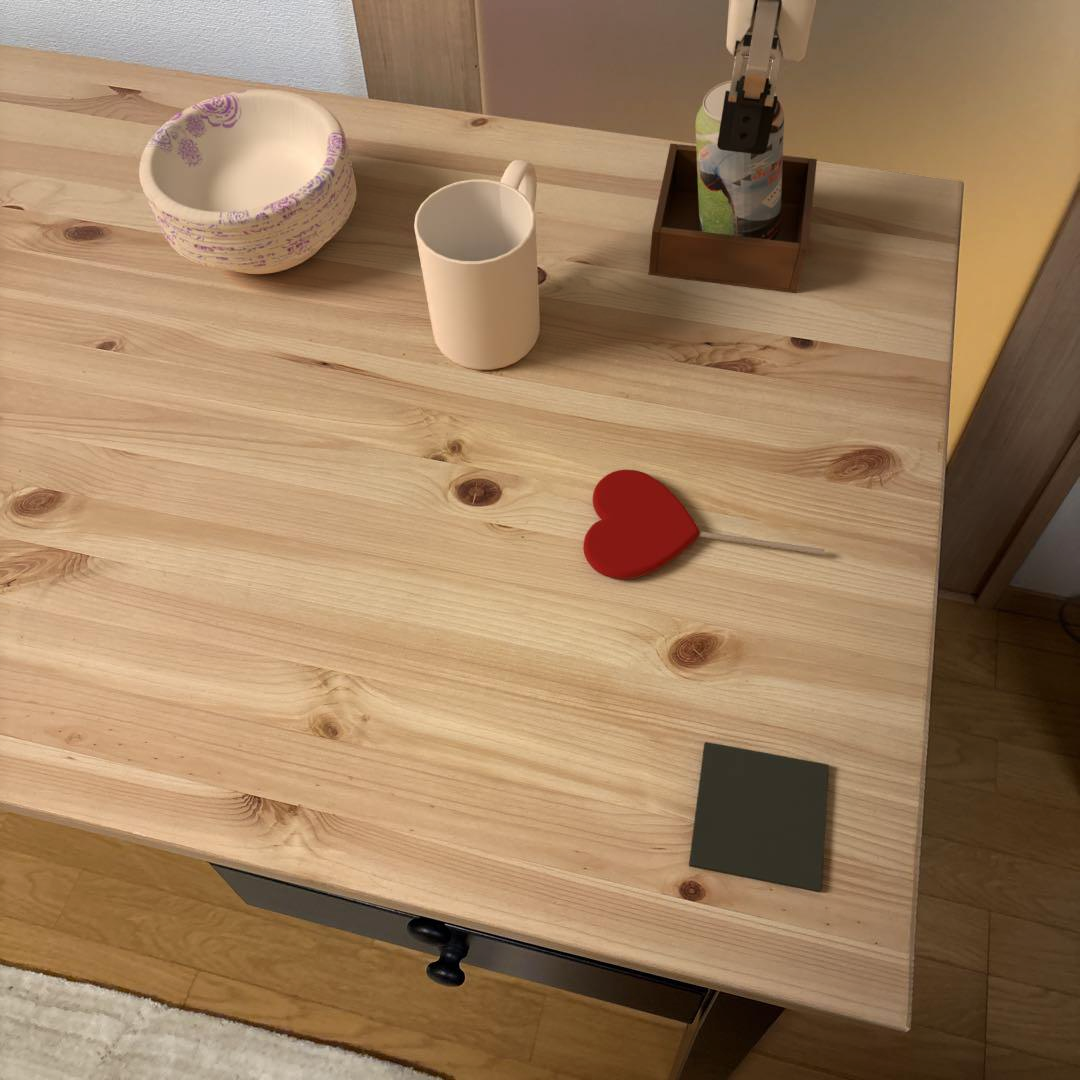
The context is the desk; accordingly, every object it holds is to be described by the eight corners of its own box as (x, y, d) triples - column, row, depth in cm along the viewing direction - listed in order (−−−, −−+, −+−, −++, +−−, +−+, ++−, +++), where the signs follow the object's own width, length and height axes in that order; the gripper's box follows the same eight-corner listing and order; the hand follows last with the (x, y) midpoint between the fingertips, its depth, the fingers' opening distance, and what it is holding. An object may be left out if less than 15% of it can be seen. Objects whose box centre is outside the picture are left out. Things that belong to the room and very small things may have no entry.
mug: (512, 385, 71) (503, 277, 62) (414, 352, 73) (392, 243, 64) (579, 271, 77) (580, 156, 68) (487, 243, 79) (475, 127, 70)
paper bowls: (234, 151, 85) (205, 66, 78) (396, 192, 82) (379, 107, 75) (136, 274, 78) (94, 192, 71) (308, 324, 75) (281, 243, 68)
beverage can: (765, 274, 76) (795, 139, 65) (671, 251, 77) (686, 115, 67) (785, 219, 78) (817, 81, 68) (695, 198, 80) (712, 60, 70)
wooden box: (805, 203, 80) (817, 158, 76) (796, 293, 75) (808, 249, 71) (666, 187, 81) (670, 142, 77) (648, 274, 76) (651, 231, 73)
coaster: (827, 766, 57) (829, 764, 56) (819, 892, 53) (821, 891, 53) (704, 743, 58) (704, 741, 57) (688, 866, 54) (689, 864, 54)
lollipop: (825, 502, 65) (598, 470, 67) (828, 494, 65) (598, 462, 66) (819, 612, 61) (577, 575, 63) (822, 605, 61) (577, 568, 62)
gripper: (865, -85, 48) (794, 196, 63) (878, -253, 57) (813, 30, 72) (710, -99, 49) (676, 181, 64) (745, -262, 58) (708, 19, 73)
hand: (748, 101), depth 68 cm, fingers open, 9 cm apart
